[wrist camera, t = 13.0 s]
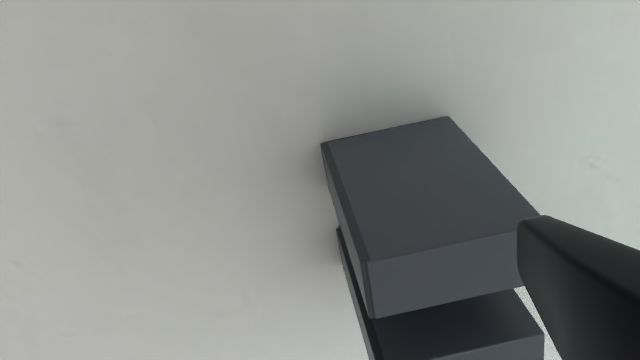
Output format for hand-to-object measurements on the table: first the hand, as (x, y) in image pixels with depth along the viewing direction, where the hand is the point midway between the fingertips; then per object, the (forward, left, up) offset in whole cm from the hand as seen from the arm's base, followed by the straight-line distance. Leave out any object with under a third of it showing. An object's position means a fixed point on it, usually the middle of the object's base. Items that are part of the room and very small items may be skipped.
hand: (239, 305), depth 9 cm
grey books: (+5, -7, -13) cm, 15 cm away
